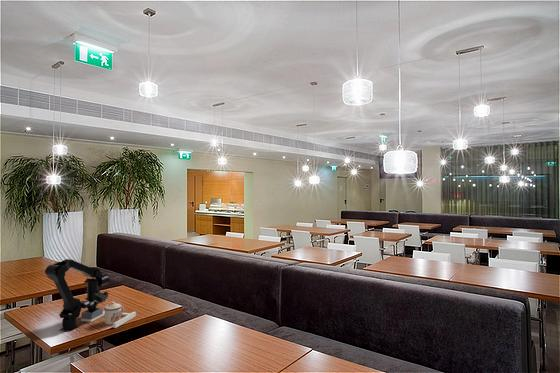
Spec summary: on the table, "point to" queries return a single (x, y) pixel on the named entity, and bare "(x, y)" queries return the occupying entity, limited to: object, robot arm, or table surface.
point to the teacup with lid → (113, 313)
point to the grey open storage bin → (99, 312)
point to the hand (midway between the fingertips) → (92, 314)
